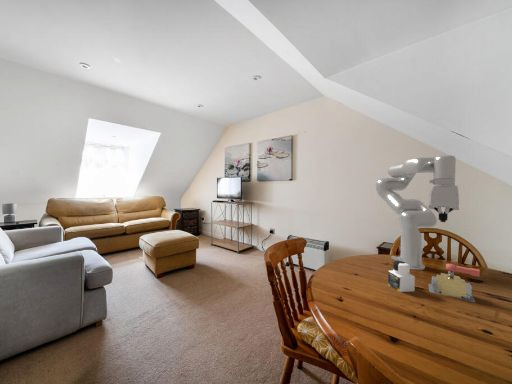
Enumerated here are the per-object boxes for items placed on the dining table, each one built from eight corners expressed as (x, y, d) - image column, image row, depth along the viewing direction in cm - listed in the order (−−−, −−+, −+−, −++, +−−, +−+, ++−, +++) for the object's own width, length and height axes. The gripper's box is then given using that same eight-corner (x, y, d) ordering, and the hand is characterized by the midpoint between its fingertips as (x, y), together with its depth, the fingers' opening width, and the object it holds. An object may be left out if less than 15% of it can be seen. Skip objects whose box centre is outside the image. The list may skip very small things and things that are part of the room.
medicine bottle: (387, 285, 98) (388, 259, 97) (402, 284, 99) (402, 259, 98) (399, 293, 91) (399, 265, 90) (414, 292, 91) (415, 265, 91)
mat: (429, 293, 91) (429, 291, 91) (428, 285, 98) (428, 283, 98) (475, 304, 82) (475, 302, 82) (470, 294, 89) (471, 292, 89)
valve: (432, 292, 90) (432, 269, 90) (431, 286, 95) (432, 265, 95) (471, 301, 83) (472, 277, 83) (468, 294, 88) (469, 271, 88)
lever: (446, 267, 91) (446, 262, 91) (479, 274, 84) (479, 269, 84) (445, 270, 89) (445, 265, 89) (479, 277, 82) (479, 271, 82)
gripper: (423, 182, 100) (422, 221, 100) (468, 182, 91) (466, 224, 91) (423, 182, 106) (422, 219, 106) (464, 182, 97) (463, 222, 97)
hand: (442, 221), depth 99 cm, fingers closed
